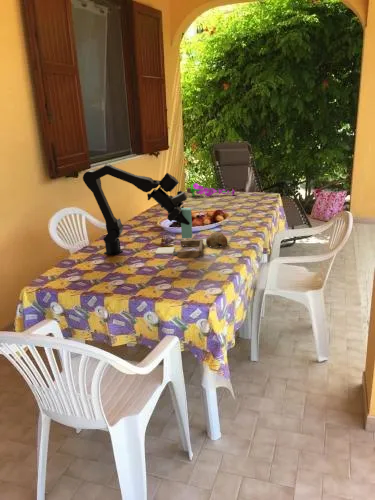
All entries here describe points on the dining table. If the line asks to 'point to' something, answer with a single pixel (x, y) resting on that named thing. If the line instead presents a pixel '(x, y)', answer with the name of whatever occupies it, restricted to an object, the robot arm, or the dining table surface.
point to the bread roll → (216, 240)
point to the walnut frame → (191, 253)
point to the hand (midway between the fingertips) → (189, 222)
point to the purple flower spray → (205, 190)
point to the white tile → (165, 250)
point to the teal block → (186, 228)
